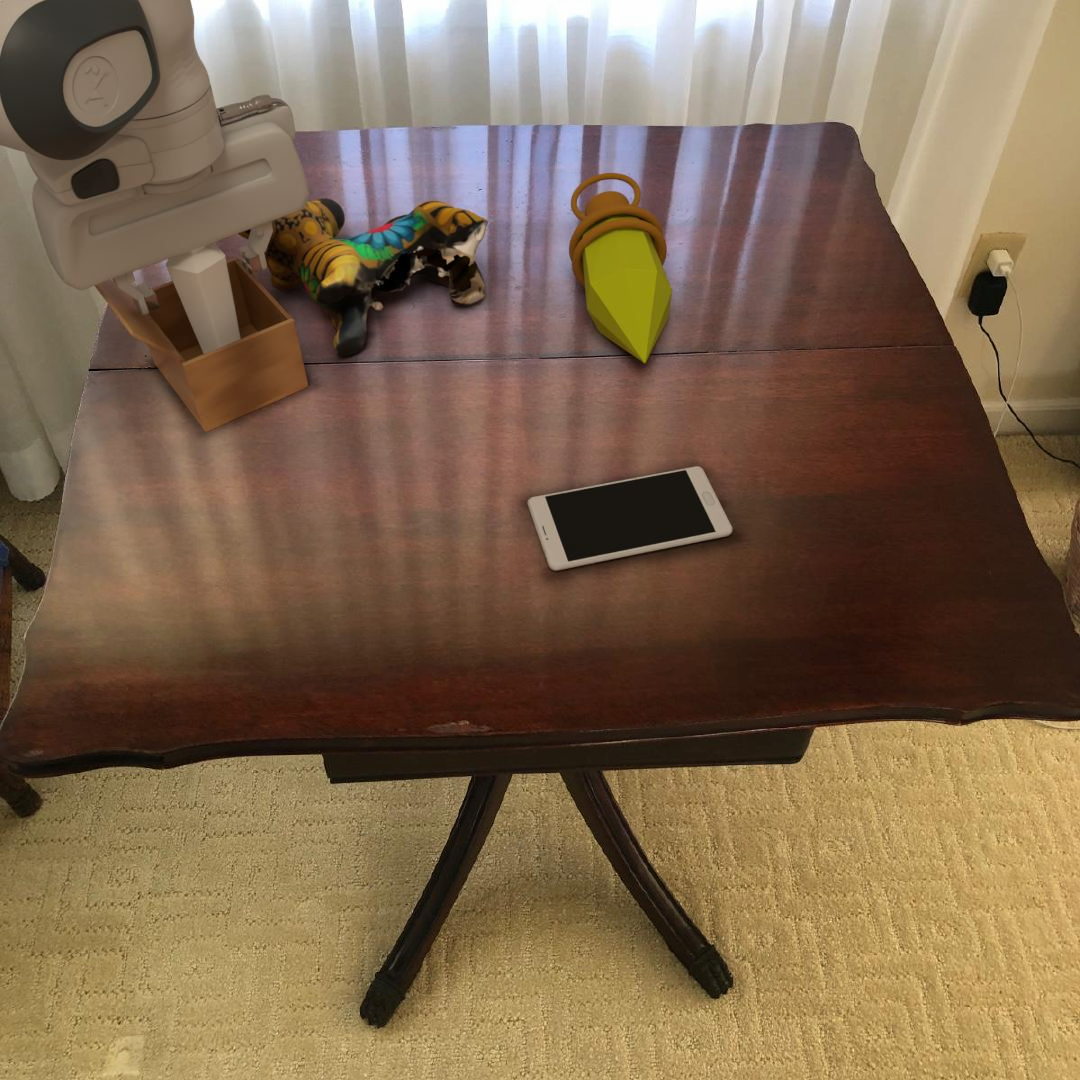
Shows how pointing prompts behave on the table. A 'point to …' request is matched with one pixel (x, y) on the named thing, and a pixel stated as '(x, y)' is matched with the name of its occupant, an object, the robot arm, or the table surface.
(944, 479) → the table surface
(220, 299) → the perfume bottle
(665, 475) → the smartphone
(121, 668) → the table surface
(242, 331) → the carton
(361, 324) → the multicolored animal figure
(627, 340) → the plumb bob
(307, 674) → the table surface
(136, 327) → the carton flap
